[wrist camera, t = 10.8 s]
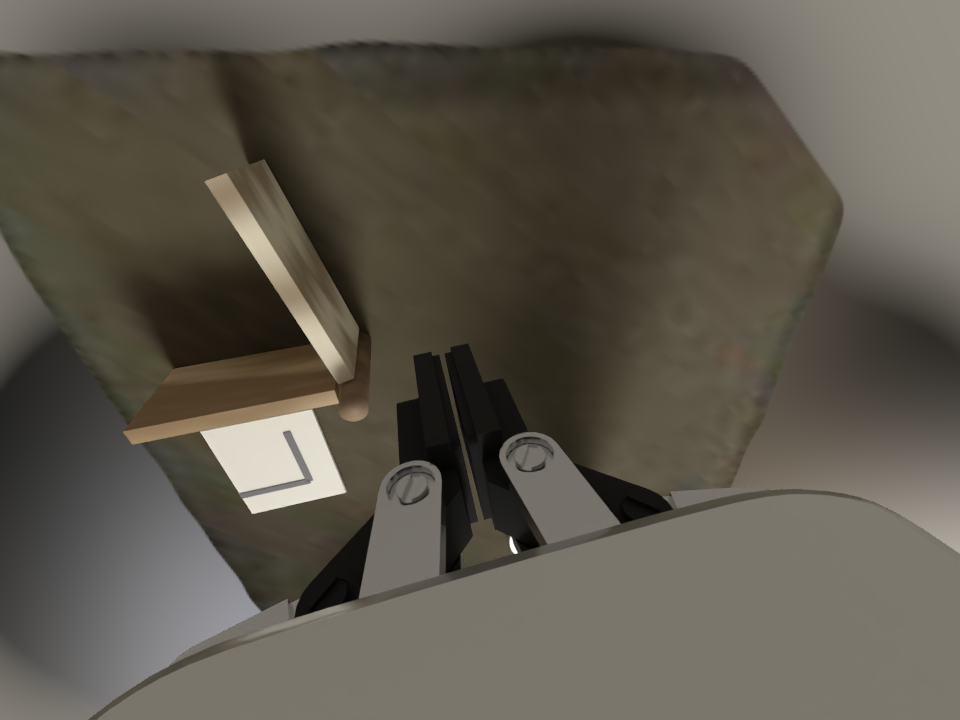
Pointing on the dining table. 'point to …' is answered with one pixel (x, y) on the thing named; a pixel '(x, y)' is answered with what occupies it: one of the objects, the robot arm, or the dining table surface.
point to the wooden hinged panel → (250, 392)
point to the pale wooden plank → (290, 263)
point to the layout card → (277, 460)
